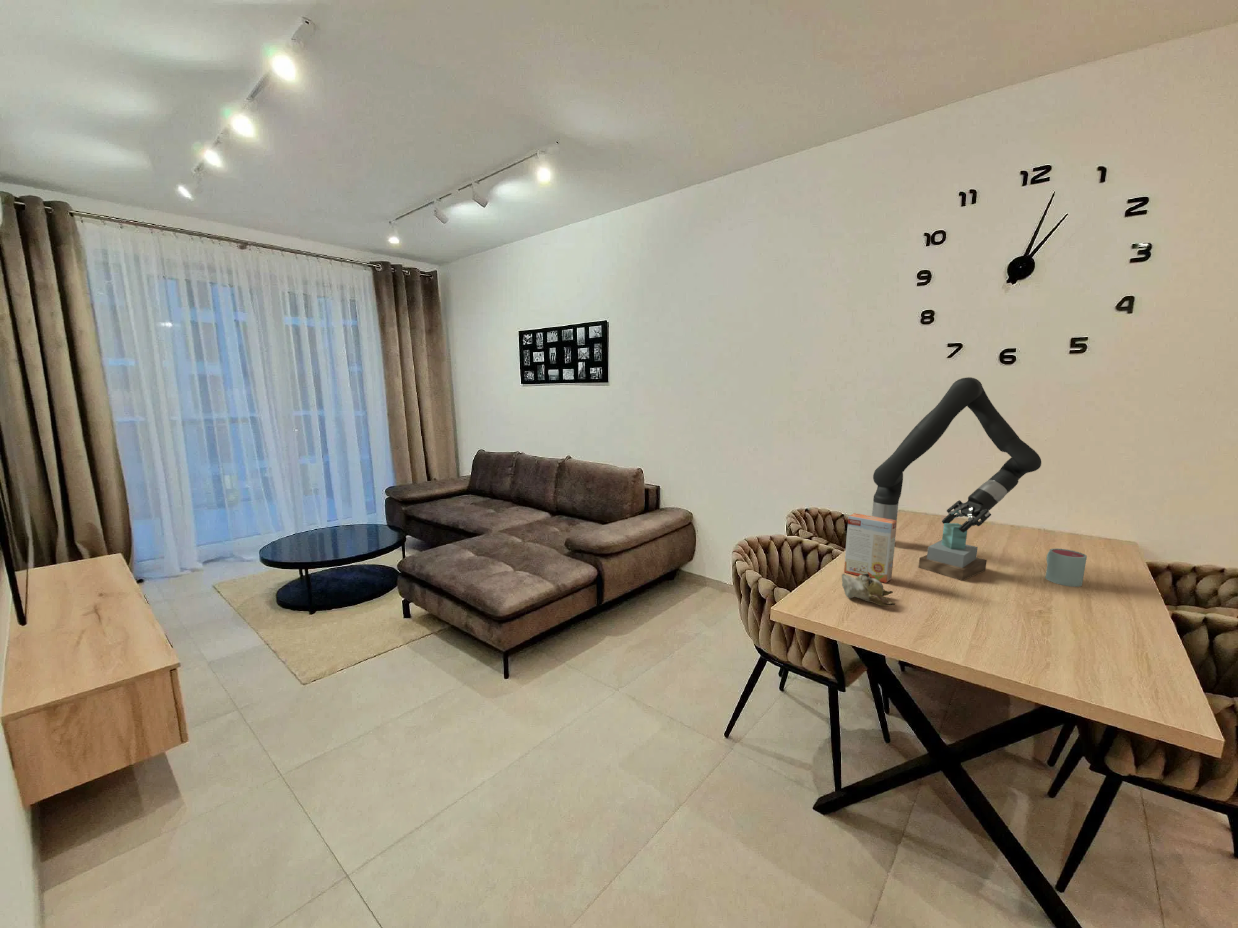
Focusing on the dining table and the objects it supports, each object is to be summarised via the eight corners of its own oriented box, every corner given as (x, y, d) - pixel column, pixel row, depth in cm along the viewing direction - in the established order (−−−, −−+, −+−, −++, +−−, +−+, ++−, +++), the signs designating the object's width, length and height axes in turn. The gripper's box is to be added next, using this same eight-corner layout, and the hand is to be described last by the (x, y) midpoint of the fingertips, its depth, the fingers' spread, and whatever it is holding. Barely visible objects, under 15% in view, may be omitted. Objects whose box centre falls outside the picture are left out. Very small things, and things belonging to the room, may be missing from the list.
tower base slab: (918, 569, 176) (919, 557, 176) (942, 559, 186) (944, 548, 185) (961, 582, 165) (963, 569, 164) (985, 571, 174) (986, 559, 174)
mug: (1089, 587, 159) (1094, 558, 158) (1056, 585, 161) (1061, 556, 160) (1060, 572, 173) (1065, 545, 171) (1030, 570, 175) (1034, 543, 173)
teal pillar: (941, 544, 176) (944, 523, 175) (955, 544, 176) (957, 523, 175) (950, 549, 171) (953, 527, 170) (965, 549, 171) (967, 527, 170)
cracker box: (892, 578, 166) (898, 519, 162) (886, 583, 162) (892, 523, 158) (849, 567, 176) (854, 511, 172) (843, 572, 172) (848, 515, 168)
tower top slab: (926, 558, 174) (928, 546, 174) (941, 550, 183) (942, 539, 182) (962, 567, 166) (963, 555, 165) (976, 558, 174) (977, 546, 174)
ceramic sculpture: (843, 563, 156) (895, 573, 150) (839, 588, 158) (891, 599, 152) (842, 575, 147) (898, 586, 141) (838, 601, 148) (893, 614, 142)
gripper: (966, 484, 178) (932, 514, 179) (997, 492, 164) (960, 525, 165) (978, 498, 179) (944, 528, 180) (1010, 507, 165) (973, 540, 166)
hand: (952, 527), depth 173 cm, fingers open, 8 cm apart
